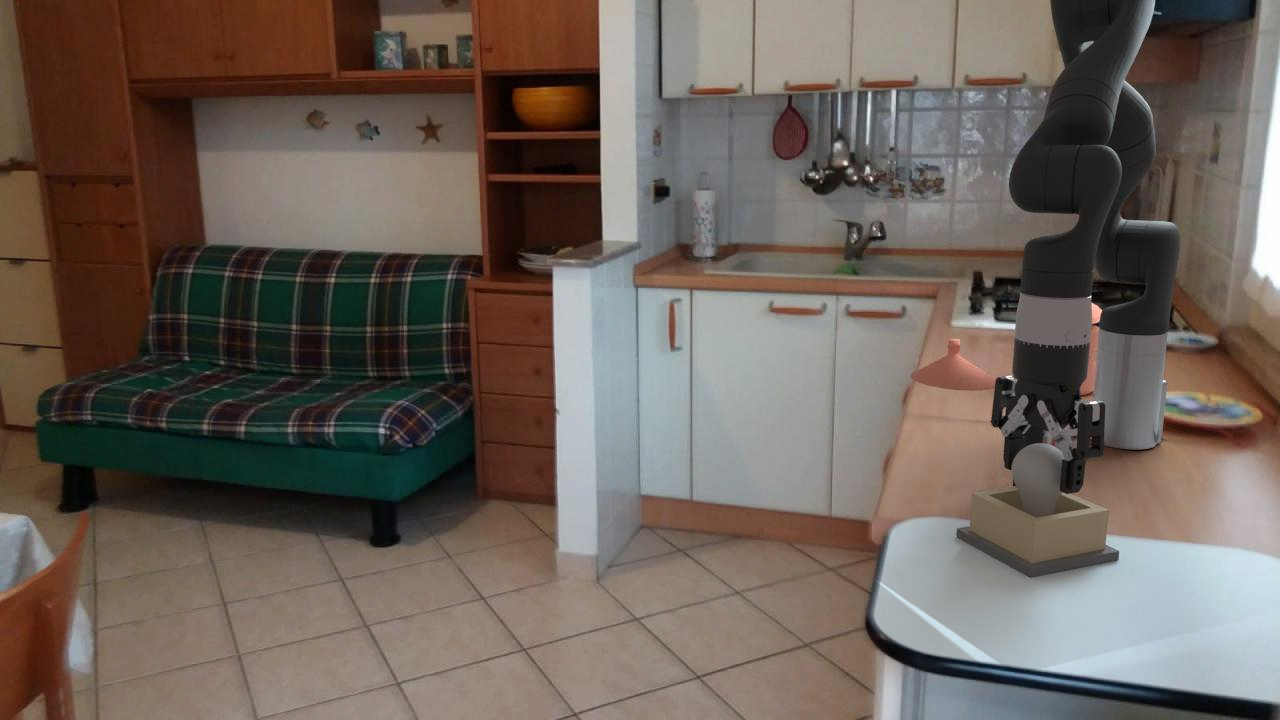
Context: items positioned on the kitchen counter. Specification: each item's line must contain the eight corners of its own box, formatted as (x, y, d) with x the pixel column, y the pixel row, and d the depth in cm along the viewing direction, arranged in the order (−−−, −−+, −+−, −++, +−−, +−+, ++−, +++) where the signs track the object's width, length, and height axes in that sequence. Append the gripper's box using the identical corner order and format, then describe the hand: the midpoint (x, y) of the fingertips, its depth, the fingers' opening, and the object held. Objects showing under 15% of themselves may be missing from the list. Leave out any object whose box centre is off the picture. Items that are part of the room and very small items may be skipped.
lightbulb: (1070, 551, 110) (1078, 453, 108) (1010, 547, 112) (1017, 450, 109) (1060, 531, 116) (1067, 438, 114) (1003, 527, 118) (1009, 435, 115)
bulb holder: (1038, 521, 122) (1042, 477, 121) (1118, 559, 111) (1123, 511, 110) (956, 536, 117) (959, 491, 116) (1030, 577, 107) (1034, 527, 105)
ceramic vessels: (887, 398, 179) (892, 292, 175) (896, 372, 199) (900, 276, 195) (1104, 413, 169) (1115, 300, 165) (1090, 384, 189) (1099, 283, 185)
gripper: (1132, 345, 104) (1117, 496, 107) (1032, 322, 117) (1022, 457, 120) (1075, 351, 101) (1061, 506, 105) (979, 327, 114) (970, 465, 118)
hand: (1040, 480), depth 112 cm, fingers open, 8 cm apart
